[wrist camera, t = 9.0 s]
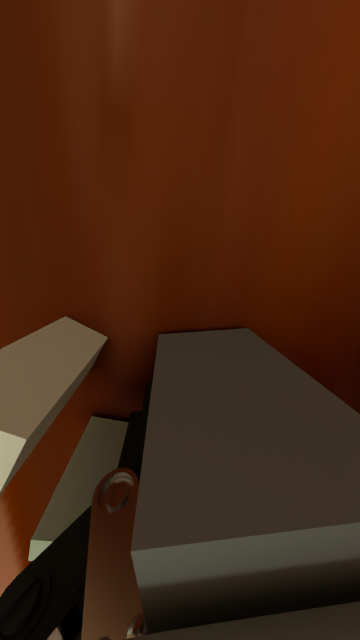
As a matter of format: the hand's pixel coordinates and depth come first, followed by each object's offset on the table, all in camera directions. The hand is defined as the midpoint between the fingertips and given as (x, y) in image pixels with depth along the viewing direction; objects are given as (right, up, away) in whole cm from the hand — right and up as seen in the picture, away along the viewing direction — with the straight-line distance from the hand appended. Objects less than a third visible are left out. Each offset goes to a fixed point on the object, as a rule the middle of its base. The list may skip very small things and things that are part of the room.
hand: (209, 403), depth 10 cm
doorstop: (0, 0, +1) cm, 2 cm away
